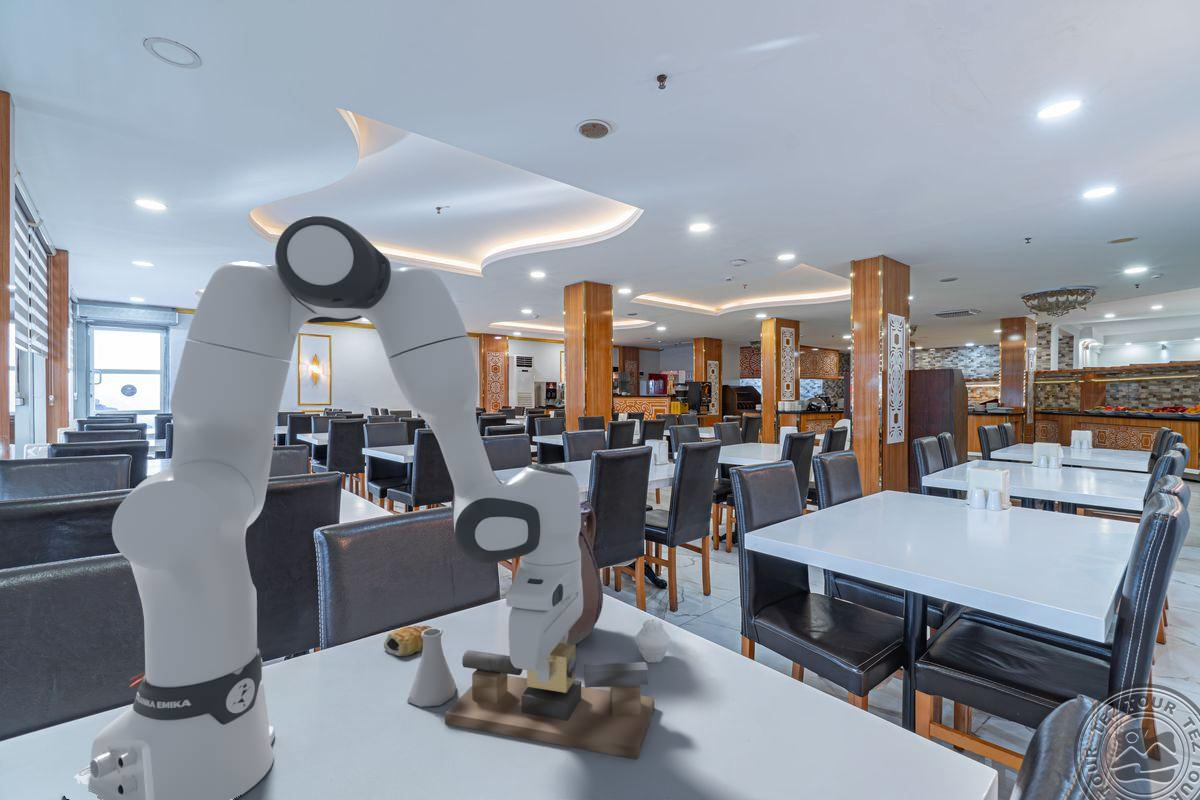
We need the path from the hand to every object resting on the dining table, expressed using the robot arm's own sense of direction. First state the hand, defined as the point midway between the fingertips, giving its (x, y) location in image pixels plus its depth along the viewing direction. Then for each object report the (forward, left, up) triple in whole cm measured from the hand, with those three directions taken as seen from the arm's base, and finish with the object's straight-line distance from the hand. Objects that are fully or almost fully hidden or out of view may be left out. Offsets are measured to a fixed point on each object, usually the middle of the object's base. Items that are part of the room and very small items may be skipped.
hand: (551, 670), depth 80 cm
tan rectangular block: (0, 0, -2) cm, 2 cm away
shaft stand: (0, 0, -7) cm, 7 cm away
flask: (-20, 0, -7) cm, 21 cm away
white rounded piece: (+11, +21, -7) cm, 25 cm away
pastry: (-34, +13, -7) cm, 37 cm away
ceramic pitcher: (-8, +26, -7) cm, 28 cm away
